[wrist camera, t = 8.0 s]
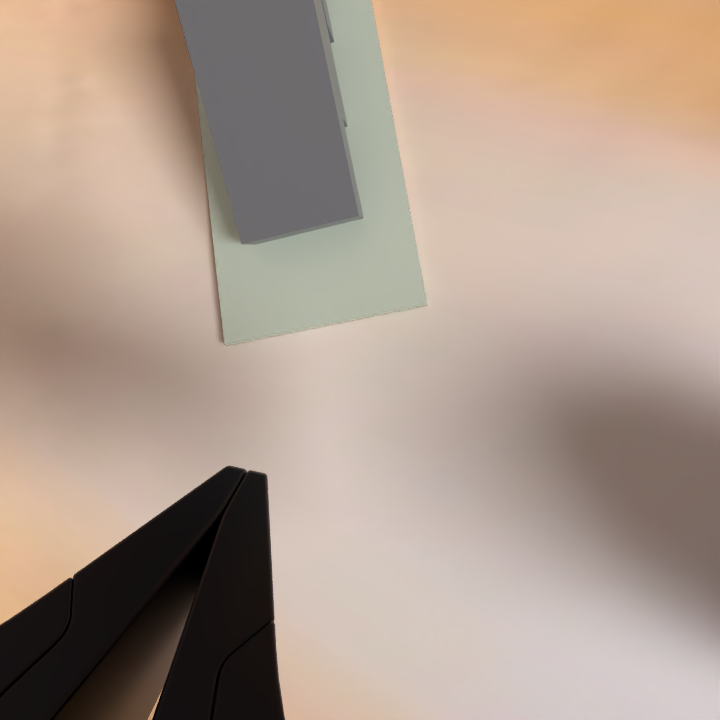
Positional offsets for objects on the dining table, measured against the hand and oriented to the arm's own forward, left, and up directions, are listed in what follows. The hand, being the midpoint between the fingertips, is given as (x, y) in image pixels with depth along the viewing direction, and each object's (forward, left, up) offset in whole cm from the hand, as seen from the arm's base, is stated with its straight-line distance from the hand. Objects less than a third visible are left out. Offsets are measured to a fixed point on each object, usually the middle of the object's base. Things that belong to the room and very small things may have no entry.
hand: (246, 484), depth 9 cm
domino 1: (+7, +5, -8) cm, 12 cm away
